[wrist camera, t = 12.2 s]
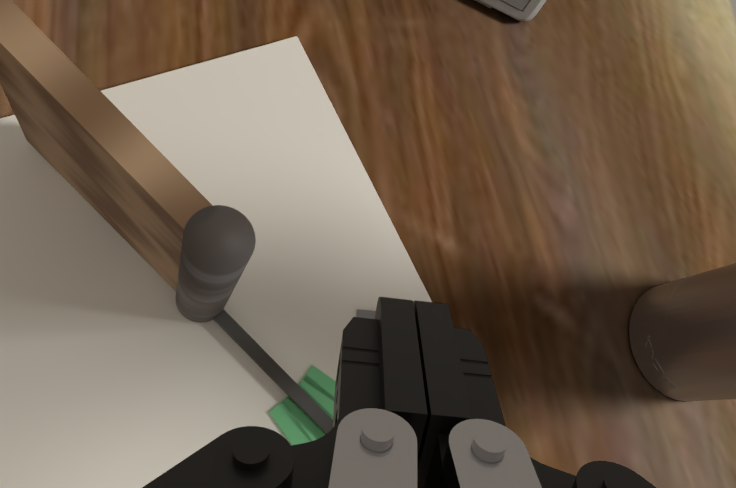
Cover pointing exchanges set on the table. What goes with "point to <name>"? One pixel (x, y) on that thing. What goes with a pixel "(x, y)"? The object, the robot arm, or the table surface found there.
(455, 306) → the table surface
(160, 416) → the thin white panel
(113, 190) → the wooden board with post
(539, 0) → the digital clock
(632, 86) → the table surface
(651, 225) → the table surface
